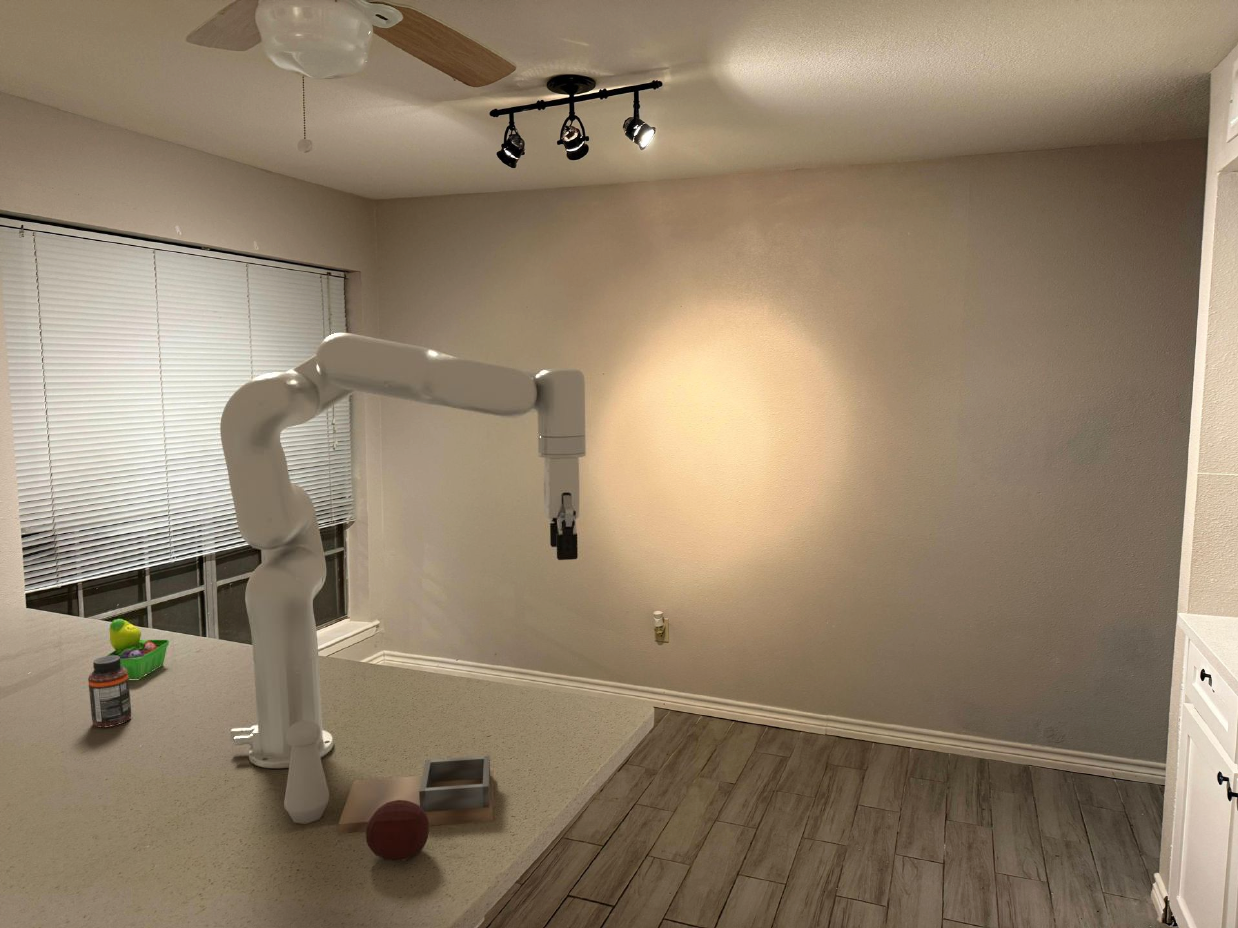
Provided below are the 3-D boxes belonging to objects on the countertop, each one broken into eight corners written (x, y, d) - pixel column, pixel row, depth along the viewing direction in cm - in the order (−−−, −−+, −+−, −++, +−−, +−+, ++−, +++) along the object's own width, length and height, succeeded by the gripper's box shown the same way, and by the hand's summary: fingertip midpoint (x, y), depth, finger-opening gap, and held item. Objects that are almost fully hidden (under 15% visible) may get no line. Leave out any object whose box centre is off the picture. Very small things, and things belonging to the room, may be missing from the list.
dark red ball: (425, 871, 104) (423, 816, 103) (360, 875, 104) (358, 820, 103) (434, 838, 112) (432, 786, 111) (373, 841, 111) (370, 789, 110)
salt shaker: (315, 829, 114) (310, 735, 112) (276, 825, 115) (270, 732, 114) (337, 807, 120) (333, 717, 118) (300, 803, 121) (295, 714, 119)
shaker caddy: (338, 832, 113) (337, 802, 113) (354, 788, 125) (352, 760, 124) (492, 820, 116) (491, 790, 115) (493, 778, 127) (492, 751, 127)
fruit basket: (141, 683, 168) (137, 627, 166) (96, 683, 168) (92, 627, 166) (172, 663, 179) (169, 610, 178) (130, 663, 179) (126, 610, 178)
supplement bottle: (97, 717, 151) (91, 655, 150) (135, 712, 153) (130, 651, 152) (87, 730, 146) (82, 666, 144) (127, 725, 148) (122, 662, 146)
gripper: (533, 442, 144) (535, 542, 146) (543, 453, 128) (545, 566, 130) (578, 441, 146) (579, 540, 148) (593, 451, 129) (594, 563, 131)
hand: (563, 552), depth 139 cm, fingers open, 9 cm apart
